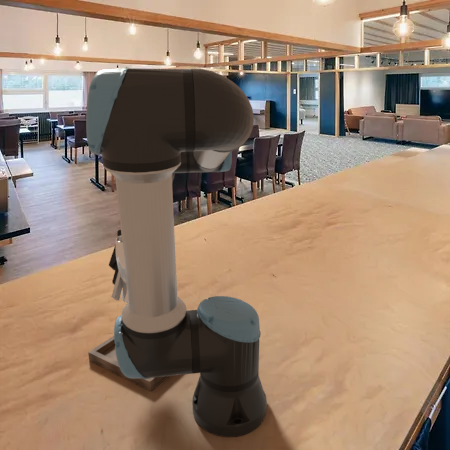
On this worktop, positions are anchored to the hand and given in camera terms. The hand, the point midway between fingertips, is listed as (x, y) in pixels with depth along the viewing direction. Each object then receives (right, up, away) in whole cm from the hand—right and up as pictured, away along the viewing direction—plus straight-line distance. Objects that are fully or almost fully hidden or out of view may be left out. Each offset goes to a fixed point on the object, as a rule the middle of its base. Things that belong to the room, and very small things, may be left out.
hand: (128, 299), depth 90 cm
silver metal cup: (+1, 0, +4) cm, 4 cm away
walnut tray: (+3, -15, +9) cm, 18 cm away
